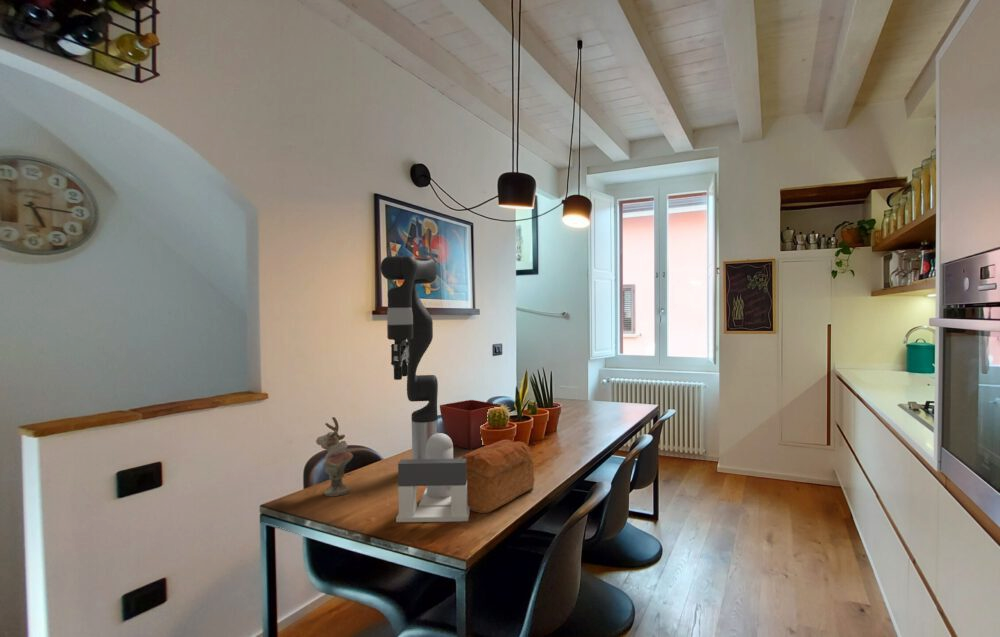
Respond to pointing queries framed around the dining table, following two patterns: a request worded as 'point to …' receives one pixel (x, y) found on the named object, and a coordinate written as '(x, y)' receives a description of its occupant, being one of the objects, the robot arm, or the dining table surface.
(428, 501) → the display stand
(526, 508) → the dining table surface
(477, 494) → the bread
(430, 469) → the gray bar
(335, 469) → the decorative bust
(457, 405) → the plant pot
